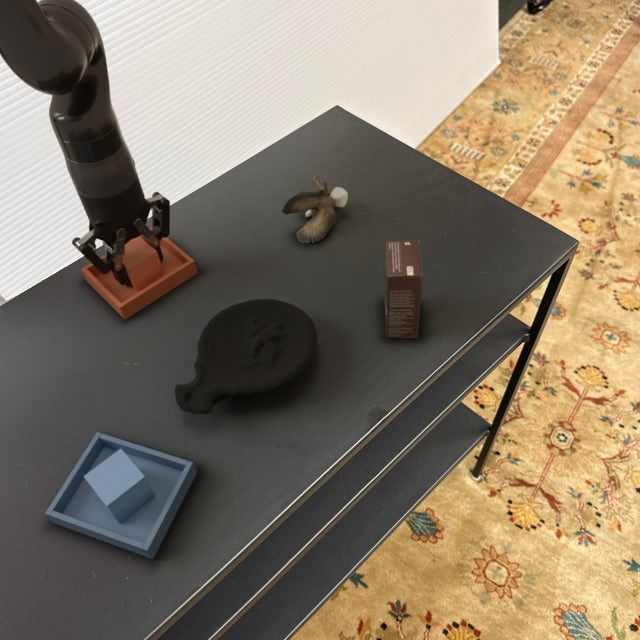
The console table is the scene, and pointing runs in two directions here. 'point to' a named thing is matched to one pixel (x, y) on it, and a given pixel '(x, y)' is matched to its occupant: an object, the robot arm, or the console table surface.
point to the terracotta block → (141, 263)
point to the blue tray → (145, 523)
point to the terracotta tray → (131, 300)
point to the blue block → (120, 485)
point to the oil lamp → (248, 353)
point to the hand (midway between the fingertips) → (141, 272)
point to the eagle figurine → (316, 210)
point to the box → (403, 288)
